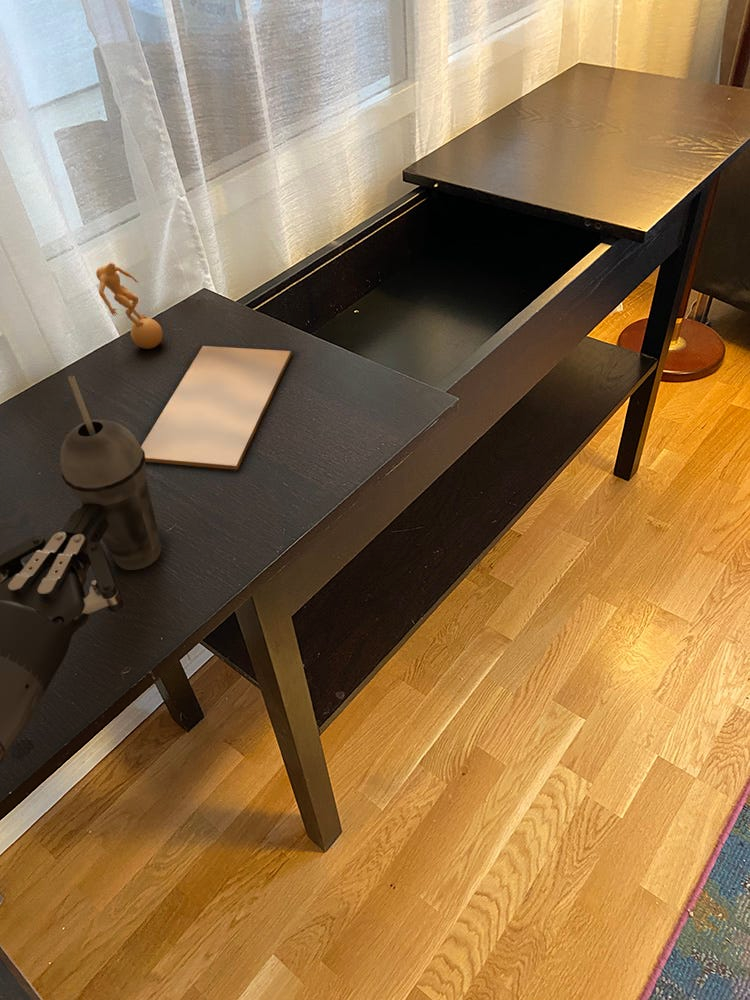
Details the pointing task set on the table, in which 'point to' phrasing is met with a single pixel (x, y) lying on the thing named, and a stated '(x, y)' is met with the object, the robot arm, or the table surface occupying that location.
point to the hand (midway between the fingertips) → (95, 510)
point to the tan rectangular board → (216, 408)
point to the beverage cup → (112, 485)
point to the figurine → (129, 307)
